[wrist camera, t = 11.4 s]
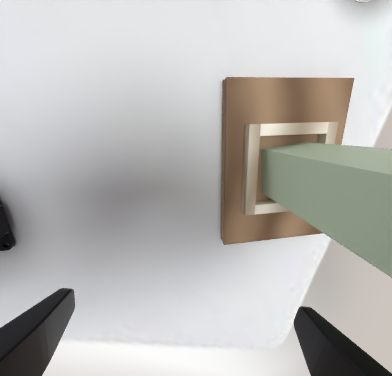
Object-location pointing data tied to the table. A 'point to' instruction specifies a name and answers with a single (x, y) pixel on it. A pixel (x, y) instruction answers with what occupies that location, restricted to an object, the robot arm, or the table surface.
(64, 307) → the robot arm
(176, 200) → the table surface
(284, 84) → the base board
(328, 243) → the table surface
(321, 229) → the pillar
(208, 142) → the table surface
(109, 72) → the table surface
